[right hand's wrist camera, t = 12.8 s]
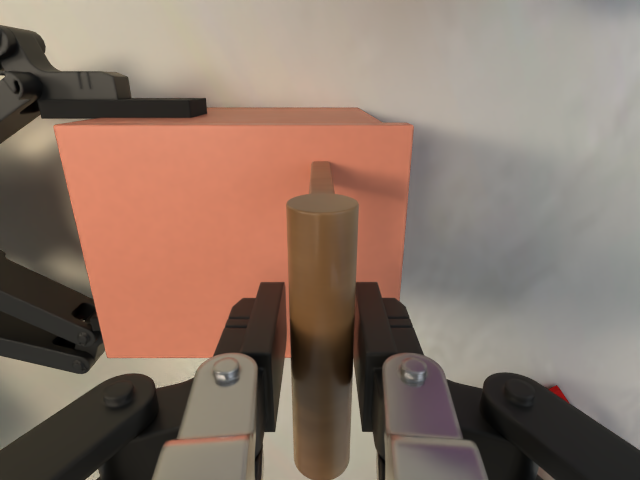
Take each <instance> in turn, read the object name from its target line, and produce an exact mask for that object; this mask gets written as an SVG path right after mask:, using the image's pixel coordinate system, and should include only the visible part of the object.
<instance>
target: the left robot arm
mask: <svg viewBox="0 0 640 480" xmlns="http://www.w3.org/2000/svg"><path fill="white" fill-rule="evenodd" d="M44 53H45V44H44V41H43V39H42V38H41V36H40V35H38V34H37V33H36V32H33V31H29V30H24V29H18V28H13V27H7V26H2V25H0V75H5V77H4V78H3V79H2V80H1V81H0V144H1V143H2V142H3V141H5V140H6V139H8V138H9V137H10V136H12V135H13V134H14V133H16V132H17V131H19V130H20V129H21V128H23V127H24V126H25V125H27V124H28V123H30V122H31V121H32V120H34V119H35V118H36V117H38V116H39V115H41V118H42V119H96V118H193V117H197V116H200V115H204V114H207V106H206V98H131V93H130V86H129V80H128V77H127V76H124V75H122V74H119V73H117V72H102V71H59V70H57V69H56V68H54V67H53V66H52V65H51V64H50V62H49V61H48V59H47V58H46V56H45V54H44ZM5 255H6V254H5V252H4V251H2V250H0V356H4V357H8V358H13V359H17V360H21V361H26V362H30V363H34V364H39V365H43V366H47V367H52V368H56V369H60V370H65V371H69V372H73V373H77V374H84V373H86V372H88V371H89V370H90V368H91V367H92V366H93V365H94V363H95V362H96V361H97V360H98V359H99V357H100V356H101V355H102V354H103V352H104V351H105V346H104V342H103V338H102V333H101V329H100V325H99V321H98V316H97V312H96V308H95V303H94V299H92V298H90V297H87V296H85V295H83V294H81V293H79V292H77V291H75V290H72V289H70V288H68V287H66V286H64V285H62V284H59V283H57V282H55V281H53V280H51V279H49V278H47V277H44V276H42V275H40V274H38V273H36V272H34V271H31V270H29V269H27V268H25V267H23V266H21V265H19V264H16V263H14V262H12V261H10V260H8V259H6V257H5ZM84 320H85V321H84Z"/></svg>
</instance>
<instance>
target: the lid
mask: <svg viewBox="0 0 640 480" xmlns="http://www.w3.org/2000/svg"><path fill="white" fill-rule="evenodd" d="M54 131H55V136H56V140H57V144H58V148H59V153H60V157H61V161H62V166H63V170H64V174H65V179H66V183H67V187H68V191H69V196H70V200H71V204H72V209H73V213H74V217H75V222H76V226H77V230H78V235H79V239H80V243H81V247H82V252H83V256H84V260H85V265H86V269H87V273H88V278H89V282H90V286H91V290H92V295H93V299H94V303H95V308H96V312H97V316H98V321H99V325H100V329H101V333H102V338H103V342H104V346H105V351H106V355H107V358H212V357H213V355H214V352H215V350H216V347H217V345H218V342H219V340H220V337H221V335H222V332H223V329H224V328H225V324H226V322H227V319H228V317H229V314H230V312H231V309H232V307H233V306H234V305H235V304H236V303H237V302H239V301H240V300H241V299H242V298H256V295H257V292H258V289H259V285H260V282H285V290H286V318H287V341H286V351H285V358H291V378H292V410H293V442H294V461H295V465H296V467H297V468H298V470H299V471H300V472H301V473H302V474H303V475H304V476H306V477H307V478H309V479H312V480H332V479H334V478H337V477H338V476H340V475H341V474H342V473H343V472H344V471H345V469H346V468H347V466H348V463H349V457H350V430H351V403H352V376H353V349H354V322H355V295H356V282H377V283H378V286H379V289H380V293H381V296H382V298H396V299H397V300H398V301H400V288H401V276H402V264H403V252H404V240H405V228H406V216H407V204H408V192H409V180H410V167H411V155H412V143H413V131H414V126H413V125H411V124H409V123H64V124H57V125H54Z"/></svg>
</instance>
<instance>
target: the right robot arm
mask: <svg viewBox="0 0 640 480" xmlns="http://www.w3.org/2000/svg"><path fill="white" fill-rule="evenodd" d="M286 341H287V318H286V290H285V282H260V285H259V289H258V292H257V295H256V298H242V299H241V300H240V301H239V302H237V303H236V304H235V305H234V306H233V307H232V309H231V312H230V314H229V317H228V319H227V322H226V324H225V328H224V329H223V332H222V335H221V337H220V340H219V342H218V345H217V347H216V350H215V352H214V355H213V357H212V358H210V359H208V360H206V361H205V362H204V363H202V364H201V365H200V366H199V368H198V369H197V371H196V373H195V377H194V378H192V379H190V380H188V381H185V382H182V383H178V384H174V385H170V386H166V387H161V388H157V389H156V388H155V383H154V381H153V380H152V379H151V378H150V377H148V376H146V375H143V374H124V375H120V376H116V377H113V378H111V379H108V380H106V381H104V382H103V383H101V384H99V385H98V386H96V387H95V388H93V389H92V390H90V391H89V392H87V393H86V394H84V395H83V396H81V397H80V398H78V399H77V400H75V401H74V402H72V403H71V404H69V405H68V406H66V407H65V408H63V409H62V410H60V411H59V412H57V413H56V414H54V415H53V416H51V417H50V418H48V419H47V420H45V421H44V422H42V423H41V424H39V425H37V426H36V427H34V428H33V429H31V430H30V431H28V432H27V433H25V434H24V435H22V436H21V437H19V438H18V439H16V440H15V441H13V442H12V443H10V444H9V445H7V446H6V447H4V448H3V449H1V450H0V480H85V479H86V478H88V477H89V476H90V475H91V474H92V473H94V472H95V471H96V470H97V469H98V470H99V474H100V477H99V478H98V479H97V480H263V468H264V454H263V437H264V432H275V429H276V421H277V413H278V405H279V398H280V390H281V382H282V374H283V367H284V359H285V351H286ZM353 359H354V367H355V376H356V384H357V392H358V400H359V408H360V417H361V425H362V432H373V436H374V442H375V447H376V450H377V454H376V468H377V480H543V479H542V478H541V477H540V476H539V475H538V474H537V472H538V468H539V467H541V468H542V469H543V470H544V471H545V472H546V473H548V474H549V475H550V476H551V477H552V478H554V479H555V480H640V450H639V449H637V448H636V447H634V446H633V445H631V444H630V443H628V442H627V441H625V440H624V439H622V438H621V437H619V436H618V435H616V434H615V433H613V432H612V431H610V430H609V429H607V428H605V427H604V426H602V425H601V424H599V423H598V422H596V421H595V420H593V419H592V418H590V417H589V416H587V415H586V414H584V413H583V412H581V411H580V410H578V409H577V408H575V407H574V406H572V405H571V404H569V403H568V402H566V401H565V400H563V399H562V398H560V397H559V396H557V395H556V394H554V393H553V392H551V391H550V390H548V389H547V388H545V387H544V386H542V385H541V384H539V383H538V382H536V381H534V380H532V379H530V378H528V377H525V376H522V375H519V374H514V373H496V374H493V375H490V376H489V377H487V379H486V380H485V381H484V385H483V389H481V388H477V387H472V386H468V385H463V384H459V383H456V382H453V381H450V380H448V379H446V377H445V373H444V371H443V369H442V368H441V366H440V365H439V364H438V363H436V362H435V361H434V360H432V359H430V358H428V357H426V356H424V354H423V351H422V349H421V346H420V343H419V341H418V338H417V336H416V333H415V330H414V328H413V325H412V323H411V320H410V319H409V315H408V312H407V310H406V307H405V306H404V305H403V304H402V303H401V302H399V301H398V300H397V299H396V298H382V296H381V293H380V289H379V286H378V283H377V282H356V295H355V322H354V349H353Z"/></svg>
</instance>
